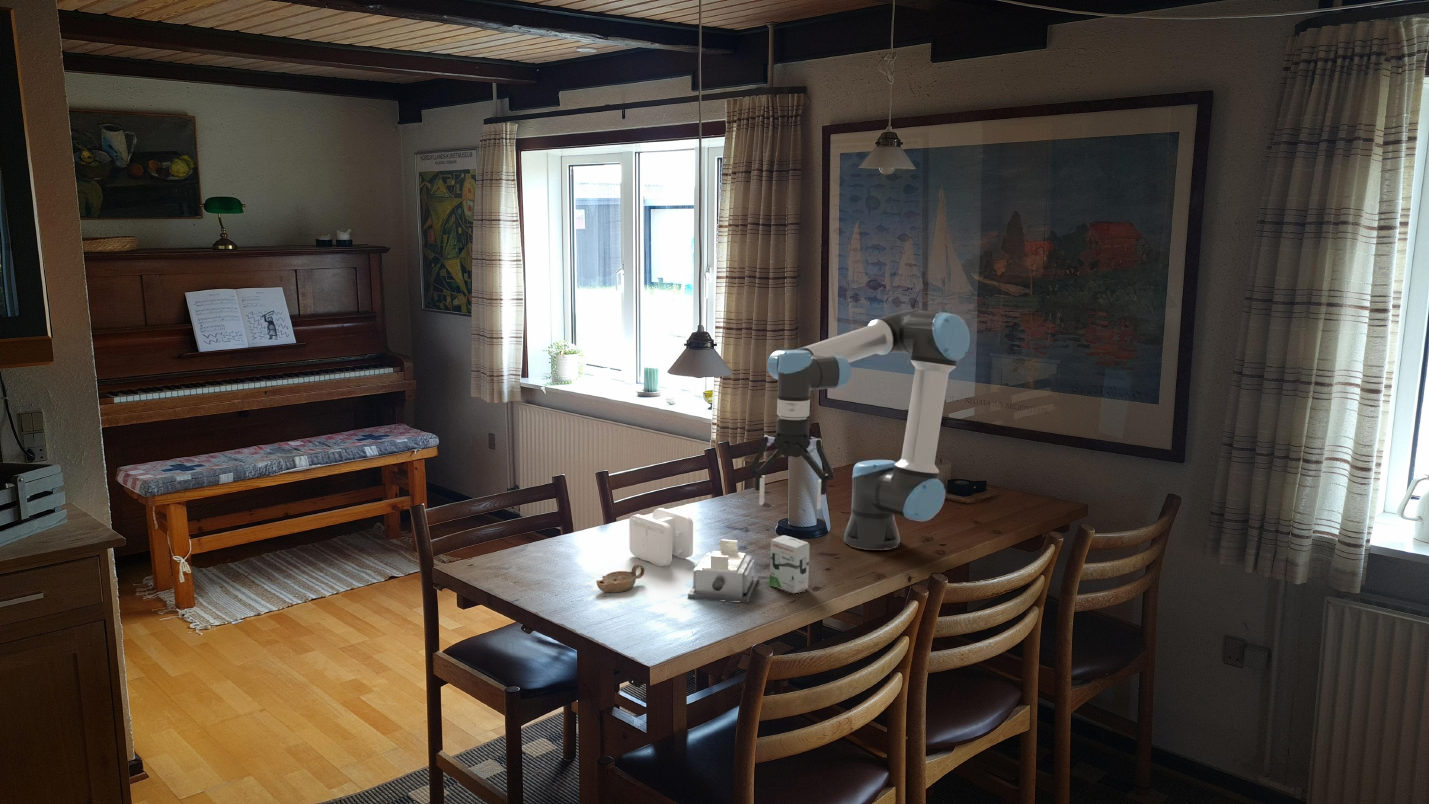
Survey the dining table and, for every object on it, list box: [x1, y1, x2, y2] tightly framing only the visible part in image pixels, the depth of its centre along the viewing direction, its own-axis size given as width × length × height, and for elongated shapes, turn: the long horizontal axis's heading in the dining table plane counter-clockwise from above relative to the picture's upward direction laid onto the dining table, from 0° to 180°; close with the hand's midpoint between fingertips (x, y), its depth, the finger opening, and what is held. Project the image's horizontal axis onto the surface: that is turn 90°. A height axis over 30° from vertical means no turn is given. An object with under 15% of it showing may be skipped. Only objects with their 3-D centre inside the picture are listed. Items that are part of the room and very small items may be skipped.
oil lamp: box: [595, 563, 646, 593], centre depth 233 cm, size 13×8×5 cm, turn 126°
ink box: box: [768, 534, 811, 593], centre depth 234 cm, size 9×5×12 cm, turn 44°
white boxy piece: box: [687, 538, 759, 603], centre depth 233 cm, size 14×16×10 cm
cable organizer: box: [628, 507, 694, 567], centre depth 254 cm, size 15×11×12 cm
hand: (790, 505), depth 232 cm, fingers open, 13 cm apart
